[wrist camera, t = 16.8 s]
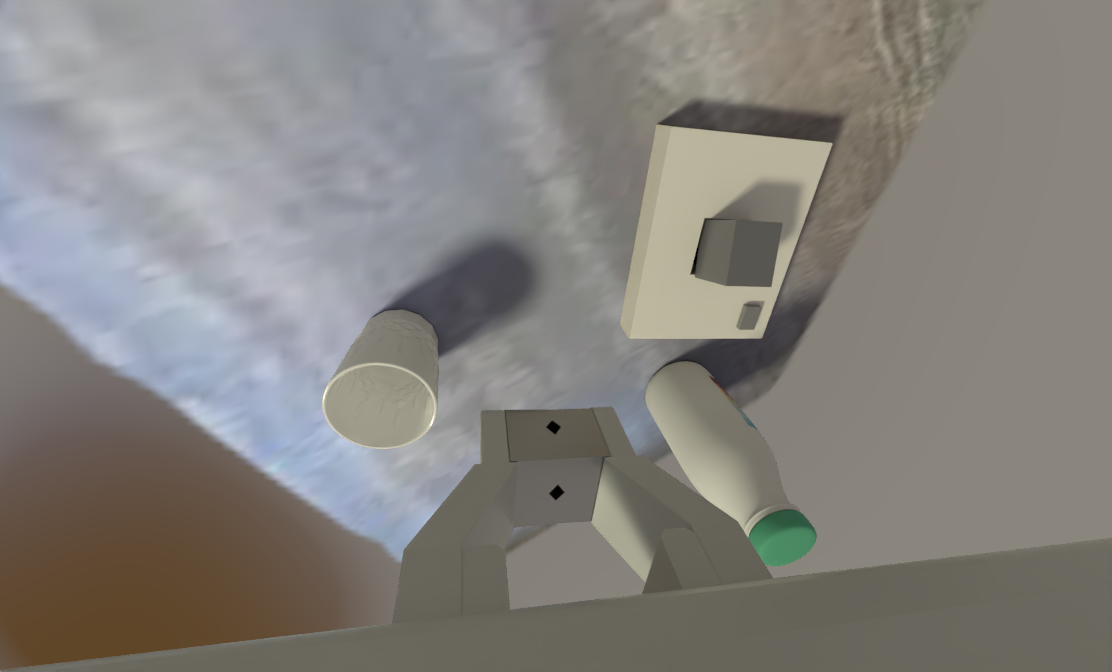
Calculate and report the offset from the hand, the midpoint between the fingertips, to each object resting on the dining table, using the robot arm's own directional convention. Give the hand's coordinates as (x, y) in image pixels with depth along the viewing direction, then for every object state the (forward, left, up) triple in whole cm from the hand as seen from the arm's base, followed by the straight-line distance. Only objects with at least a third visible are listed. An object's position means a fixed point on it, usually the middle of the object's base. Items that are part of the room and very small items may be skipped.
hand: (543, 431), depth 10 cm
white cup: (+14, -8, -29) cm, 34 cm away
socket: (+3, +20, -29) cm, 35 cm away
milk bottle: (+20, +21, -29) cm, 41 cm away
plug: (+4, +20, -29) cm, 35 cm away
